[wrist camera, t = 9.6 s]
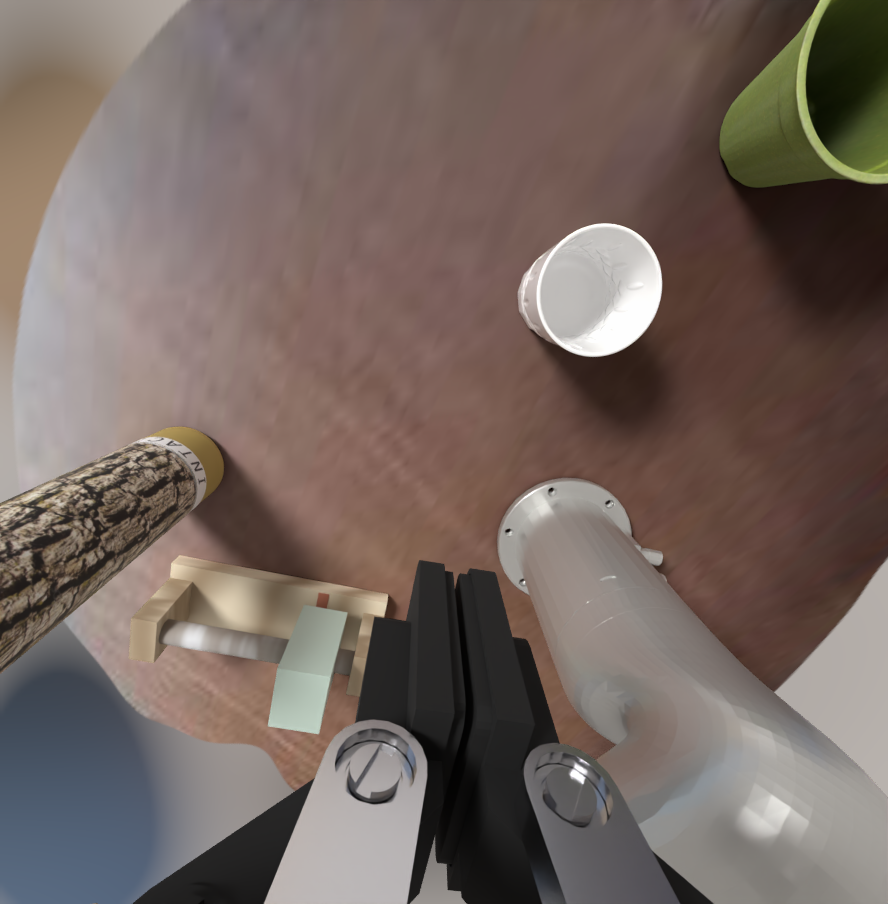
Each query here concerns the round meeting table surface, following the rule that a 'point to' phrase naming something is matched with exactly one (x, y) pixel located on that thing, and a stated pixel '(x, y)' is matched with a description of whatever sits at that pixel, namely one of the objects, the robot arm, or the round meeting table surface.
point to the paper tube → (94, 528)
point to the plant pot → (817, 104)
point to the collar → (307, 670)
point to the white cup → (593, 290)
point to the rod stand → (249, 615)
